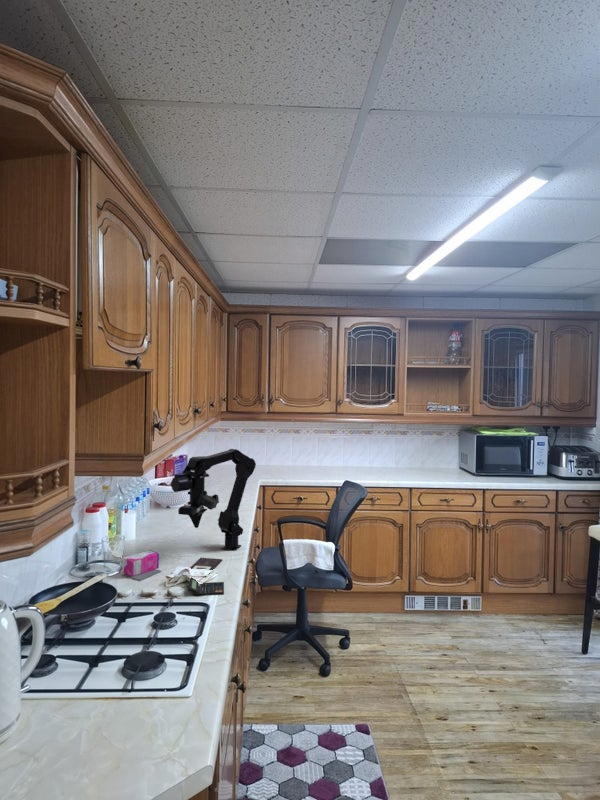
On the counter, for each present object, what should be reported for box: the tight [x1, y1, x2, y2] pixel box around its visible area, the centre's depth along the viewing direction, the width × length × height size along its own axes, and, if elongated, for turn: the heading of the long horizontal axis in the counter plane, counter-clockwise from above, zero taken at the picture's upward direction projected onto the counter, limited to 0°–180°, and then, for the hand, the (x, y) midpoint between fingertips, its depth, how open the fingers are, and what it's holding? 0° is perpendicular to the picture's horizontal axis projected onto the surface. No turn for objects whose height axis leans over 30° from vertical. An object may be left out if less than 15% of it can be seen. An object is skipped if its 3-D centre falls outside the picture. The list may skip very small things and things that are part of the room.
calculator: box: [187, 576, 225, 597], centre depth 163 cm, size 9×12×3 cm
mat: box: [121, 569, 162, 582], centre depth 176 cm, size 10×9×1 cm
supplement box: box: [122, 549, 160, 577], centre depth 178 cm, size 6×6×12 cm
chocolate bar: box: [189, 557, 223, 571], centre depth 183 cm, size 9×1×18 cm
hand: (196, 527), depth 194 cm, fingers closed
